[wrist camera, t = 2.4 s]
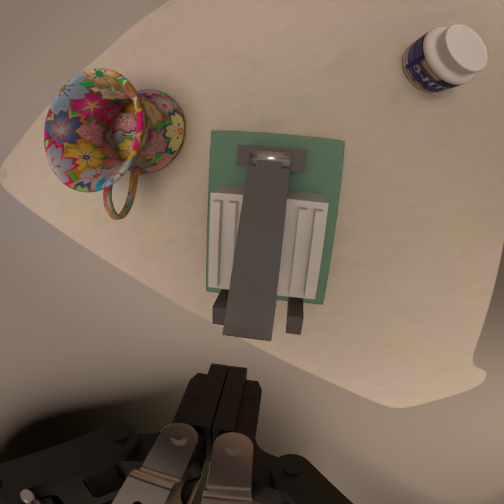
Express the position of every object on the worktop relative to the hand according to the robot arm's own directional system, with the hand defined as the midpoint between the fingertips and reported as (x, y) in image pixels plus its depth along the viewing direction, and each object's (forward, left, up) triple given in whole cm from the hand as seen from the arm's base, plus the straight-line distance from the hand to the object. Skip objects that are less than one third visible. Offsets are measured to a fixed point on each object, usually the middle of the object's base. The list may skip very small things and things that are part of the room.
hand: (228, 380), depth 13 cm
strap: (0, -4, -9) cm, 10 cm away
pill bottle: (-14, -20, -20) cm, 31 cm away
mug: (+13, -9, -20) cm, 25 cm away
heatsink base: (0, -3, -20) cm, 20 cm away
